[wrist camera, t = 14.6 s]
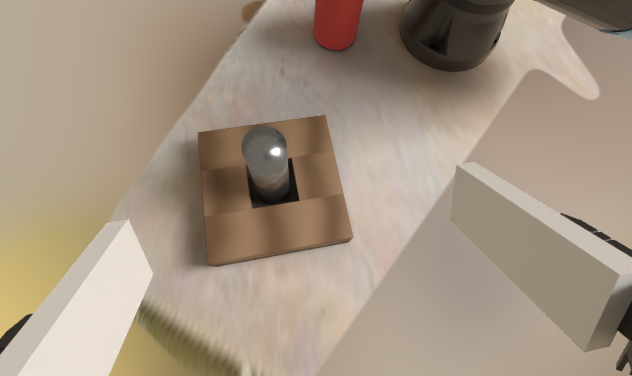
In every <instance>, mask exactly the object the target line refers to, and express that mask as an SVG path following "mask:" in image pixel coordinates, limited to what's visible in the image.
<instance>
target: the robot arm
mask: <svg viewBox="0 0 632 376" xmlns="http://www.w3.org/2000/svg"><path fill="white" fill-rule="evenodd" d="M534 1H537V2H539V3H541V4H543V5H545V6H548V7H550V8H552V9H554V10H556V11H558V12H561V13H563V14H565V15H567V16H569V17H571V18H574V19H576V20H578V21H580V22H582V23H584V24H587V25H589V26H591V27H593V28H595V29H597V30H599V31H600V32H602V33H605V34H612V35H616V36H619V37H622V38H624V39H628V40H632V0H534ZM513 2H514V0H409V2H408V3H407V5H406V7H405V9H404V12H403V15H402V18H401V21H400V34H401V38H402V40H403V42H404V44H405V46H406V47H407V49H408V50H409V51H410V52H411V53H412V54H413V55H414V56H415V57H416V58H418V59H419V60H420V61H422V62H424V63H425V64H427V65H429V66H432V67H435V68H438V69H441V70H447V71H463V70H468V69H471V68H474V67H476V66H478V65H479V64H481V63H482V62H483V61H484V60H485V59H486V58H487V57H488V56H489V54H490V53H491V52H492V50H493V49H494V48H495V46H496V45H497V43H498V40H499V37H500V34H501V30H502V28H503V25H504V23H505V20H506V17H507V14H508V11H509V8H510V6H511V5H512V3H513ZM450 220H451V221H452V222H453V223H454V224H455V225H456V226H457V227H458V228H459V229H460V230H461V231H462V232H463V233H464V234H465V235H466V236H467V237H468V238H469V239H470V240H471V241H472V242H473V243H474V244H475V245H476V246H477V247H478V248H479V249H480V250H481V251H482V252H483V253H484V254H485V255H486V256H487V257H488V258H489V259H490V260H491V261H492V262H493V263H494V264H495V265H496V266H497V267H498V268H499V269H500V270H501V271H502V272H503V273H504V274H505V275H506V276H507V277H509V279H510V280H511V281H512V282H513V283H514V284H515V285H516V286H517V287H518V288H520V290H521V291H522V292H523V293H524V294H526V295H527V296H528V297H529V298H530V299H531V300H532V301H533V302H534V303H535V304H536V305H537V306H538V307H539V308H540V309H541V310H542V311H543V312H544V313H545V314H546V315H547V316H548V317H549V318H550V319H551V320H552V321H553V322H554V323H555V324H556V325H557V326H558V327H559V328H560V329H561V330H562V331H563V332H564V333H565V334H566V335H567V336H568V337H569V338H570V339H571V340H572V341H573V342H574V343H575V344H576V345H577V346H578V347H579V348H580V349H581V350H582V351H583V352H587V351H592V350H596V349H600V348H604V347H609V346H610V344H611V342H612V341H613V339H614V337H615V335H616V333H617V331H619V332H620V333H621V334H623V335H624V336H625V337H627V339H629V342H628V344H627V345H626V347H625V349H624V351H623V352H622V354H621V356H620V358H619V360H618V362H617V365H616V370H619V371H622V370H623V368H624V366H625V365H626V363H627V362H629V364H630V368H631V372H630V375H632V250H631V249H629V248H627V247H626V246H624V245H622V244H620V243H619V242H617V241H615V240H611V238H610V237H609V236H607V235H605V234H604V233H602V232H598V230H596V229H595V228H593V227H592V226H590V225H588V224H586V223H585V222H583V221H581V220H578V219H576V218H573V217H570V216H568V215H565V214H562V213H561V214H559V213H557V212H556V211H554V210H552V209H551V208H549V207H548V206H546V205H544V204H543V203H541V202H539V201H538V200H536V199H534V198H533V197H531V196H529V195H528V194H526V193H524V192H523V191H521V190H519V189H518V188H516V187H515V186H513V185H511V184H510V183H508V182H506V181H505V180H503V179H501V178H500V177H498V176H496V175H495V174H493V173H491V172H490V171H488V170H486V169H485V168H483V167H481V166H480V165H478V164H477V163H475V162H470V163H464V164H458V165H457V166H456V174H455V183H454V191H453V200H452V208H451V217H450ZM152 276H153V273H152V270H151V268H150V266H149V264H148V262H147V259H146V257H145V255H144V253H143V251H142V248H141V246H140V244H139V242H138V240H137V237H136V235H135V233H134V231H133V229H132V226H131V224H130V222H129V220H128V219H125V220H119V221H113V222H107V223H106V224H105V225H104V227H103V228H102V229H101V230H100V232H99V233H98V234H97V235H96V237H95V238H94V239H93V240H92V242H91V243H90V244H89V245H88V247H87V248H86V249H85V250H84V251H83V253H82V254H81V255H80V256H79V258H78V259H77V260H76V262H75V263H74V264H73V265H72V266H71V268H70V269H69V270H68V271H67V273H66V274H65V275H64V276H63V278H62V279H61V280H60V281H59V283H58V284H57V285H56V286H55V287H54V289H53V290H52V291H51V292H50V294H49V295H48V296H47V297H46V299H45V300H44V301H43V302H42V304H41V305H40V306H39V307H38V309H37V310H36V311H35V312H34V313H33V314H29V315H26V316H25V317H24V318H23V319H22V320H20V321H19V322H18V323H17V324H15V325H14V326H13V327H12V328H10V329H9V330H8V331H7V332H6V333H5V334H4V335H3V336H2V337H1V339H0V376H109V374H110V371H111V369H112V367H113V365H114V362H115V360H116V358H117V356H118V353H119V351H120V349H121V346H122V344H123V342H124V339H125V337H126V335H127V333H128V331H129V328H130V326H131V324H132V322H133V319H134V317H135V315H136V313H137V310H138V308H139V306H140V303H141V301H142V299H143V297H144V294H145V292H146V290H147V288H148V285H149V283H150V281H151V279H152Z"/></svg>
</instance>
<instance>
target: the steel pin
mask: <svg viewBox="0 0 632 376" xmlns="http://www.w3.org/2000/svg"><path fill="white" fill-rule="evenodd" d="M241 150H242V154H243V156H244V159H245V161H246V164H247V166H248V169H249V172H250V174H251V177H252V179H253V182H254V184H255V187H256V189H257V192H258V194H259V197H260V198H261V200H262V201H264V202H265V203H267V204H270V205H277V204H280V203H282V202H284V201H285V200H286V199H287V198H288V196H289V193H290V182H289V169H288V156H287V144H286V140H285V137H284V136H283V134H282V133H281V132H280V131H278V130H277V129H275V128H273V127H269V126H260V127H256V128H254V129H252V130H250V131H249V132H248V133H247V134H246V135H245V136H244V138H243V140H242V143H241Z"/></svg>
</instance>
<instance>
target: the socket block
mask: <svg viewBox="0 0 632 376" xmlns="http://www.w3.org/2000/svg"><path fill="white" fill-rule="evenodd" d="M260 126H269V127H273V128H275V129H277V130H278V131H280V132H281V133H282V134H283V136H284V137H285V140H286V144H287V156H288V169H289V182H290V193H289V196H288V198H287V199H286V200H285V201H284V202H282V203H280V204H277V205H270V204H267V203H265V202H264V201H262V200H261V198H260V197H259V194H258V192H257V189H256V187H255V184H254V182H253V179H252V177H251V174H250V172H249V169H248V166H247V164H246V161H245V159H244V156H243V154H242V150H241V143H242V140H243V138H244V136H245V135H246V134H247V133H248V132H249V131H250V130H252V129H254V128H256V127H260ZM198 140H199V153H200V166H201V179H202V192H203V205H204V217H205V230H206V243H207V256H208V264H210V265H213V266H216V267H217V266H223V265H228V264H234V263H239V262H244V261H250V260H255V259H261V258H266V257H271V256H277V255H282V254H287V253H293V252H298V251H304V250H309V249H314V248H320V247H325V246H331V245H336V244H341V243H347V242H349V241H350V240H351V239H352V238H353V234H352V229H351V225H350V221H349V216H348V212H347V208H346V203H345V199H344V194H343V190H342V186H341V181H340V177H339V173H338V168H337V164H336V160H335V155H334V151H333V147H332V142H331V138H330V134H329V129H328V125H327V121H326V116H325V115H322V116H315V117H307V118H300V119H293V120H285V121H278V122H271V123H264V124H256V125H249V126H242V127H235V128H227V129H220V130H213V131H206V132H198Z"/></svg>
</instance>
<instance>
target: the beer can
mask: <svg viewBox="0 0 632 376" xmlns="http://www.w3.org/2000/svg"><path fill="white" fill-rule="evenodd" d="M363 1H364V0H315V17H314V36H315V39H316V40H317V42H318V43H319V44H320V45H322V46H323V47H325V48H327V49H330V50H342V49H344V48H347V47H349V46H350V45H351V44H352V43H353V41H354V40H355V37H356V33H357V28H358V24H359V19H360V14H361V10H362V5H363Z"/></svg>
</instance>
